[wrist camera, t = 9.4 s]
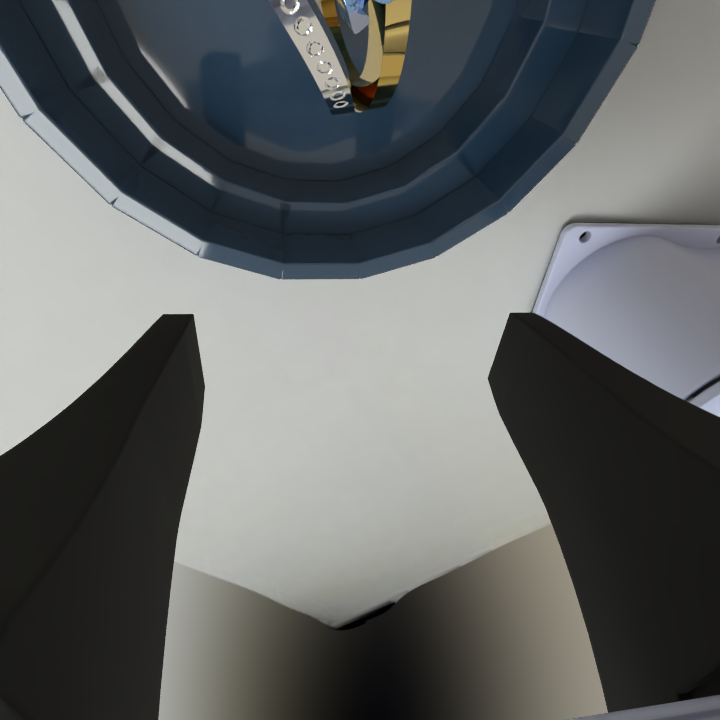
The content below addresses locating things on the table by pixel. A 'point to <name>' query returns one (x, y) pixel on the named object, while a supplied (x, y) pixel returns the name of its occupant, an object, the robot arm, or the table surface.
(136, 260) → the table surface
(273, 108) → the bowl
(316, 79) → the ring
